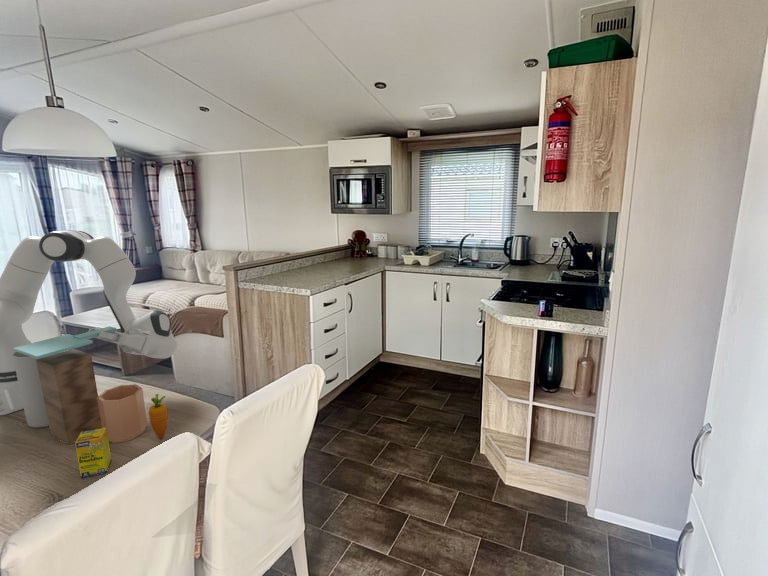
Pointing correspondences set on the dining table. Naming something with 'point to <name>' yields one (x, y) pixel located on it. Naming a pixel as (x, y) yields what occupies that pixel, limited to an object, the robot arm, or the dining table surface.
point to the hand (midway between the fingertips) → (94, 332)
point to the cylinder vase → (31, 390)
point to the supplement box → (93, 452)
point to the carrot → (158, 417)
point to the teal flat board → (60, 343)
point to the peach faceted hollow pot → (122, 412)
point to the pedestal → (69, 394)
